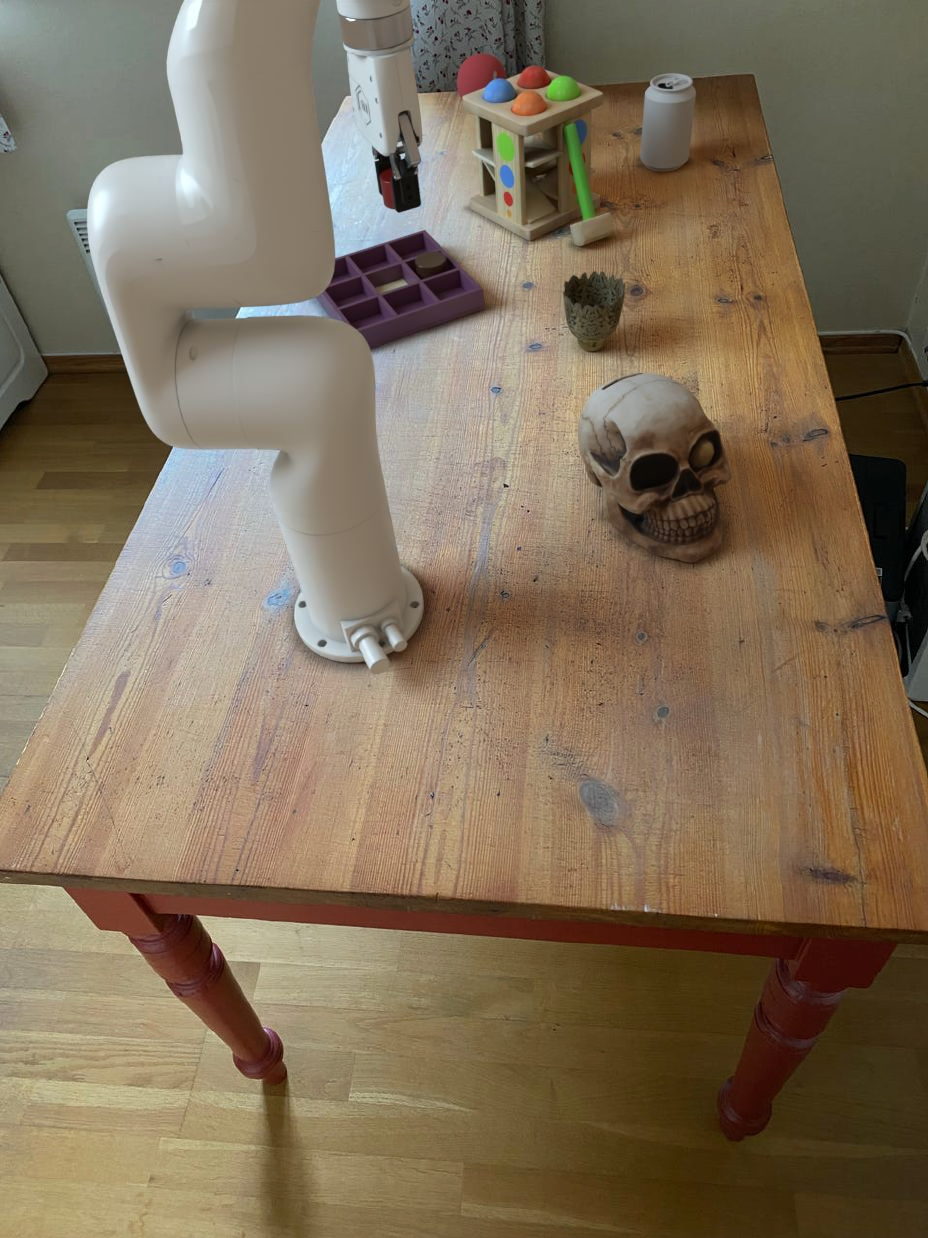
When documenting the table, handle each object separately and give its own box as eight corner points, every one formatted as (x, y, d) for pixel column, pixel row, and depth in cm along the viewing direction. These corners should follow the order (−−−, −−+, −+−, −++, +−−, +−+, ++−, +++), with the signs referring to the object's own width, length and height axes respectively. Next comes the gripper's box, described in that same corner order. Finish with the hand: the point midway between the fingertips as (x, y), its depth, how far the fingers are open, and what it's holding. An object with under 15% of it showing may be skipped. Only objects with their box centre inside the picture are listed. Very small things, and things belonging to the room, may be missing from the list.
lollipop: (457, 165, 146) (448, 64, 134) (470, 144, 150) (463, 44, 139) (502, 168, 144) (497, 65, 132) (514, 147, 148) (511, 45, 137)
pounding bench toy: (642, 226, 129) (652, 92, 115) (568, 263, 124) (570, 128, 110) (538, 176, 141) (537, 49, 127) (468, 208, 136) (458, 80, 123)
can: (630, 160, 142) (636, 77, 133) (670, 148, 144) (678, 65, 135) (656, 178, 138) (664, 94, 128) (697, 165, 139) (707, 81, 130)
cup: (618, 364, 109) (622, 305, 103) (558, 361, 110) (559, 302, 104) (624, 329, 113) (628, 271, 107) (566, 326, 115) (567, 268, 108)
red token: (423, 203, 106) (420, 176, 104) (391, 213, 106) (387, 186, 103) (410, 189, 109) (406, 162, 106) (378, 198, 108) (374, 172, 106)
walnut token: (452, 283, 122) (450, 261, 120) (425, 292, 121) (422, 270, 119) (440, 269, 125) (437, 248, 122) (412, 278, 124) (410, 257, 121)
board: (484, 309, 119) (483, 288, 116) (356, 353, 115) (352, 333, 112) (427, 249, 130) (424, 229, 127) (308, 287, 126) (303, 267, 123)
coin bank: (706, 571, 86) (712, 459, 77) (547, 531, 94) (534, 425, 85) (756, 476, 95) (768, 365, 86) (606, 447, 103) (601, 342, 93)
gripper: (316, 12, 97) (346, 181, 111) (373, 60, 87) (398, 239, 101) (379, -3, 99) (401, 165, 113) (442, 42, 89) (458, 220, 103)
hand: (400, 198), depth 107 cm, fingers closed on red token, 4 cm apart
